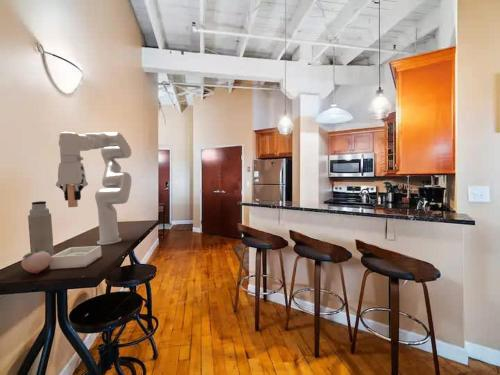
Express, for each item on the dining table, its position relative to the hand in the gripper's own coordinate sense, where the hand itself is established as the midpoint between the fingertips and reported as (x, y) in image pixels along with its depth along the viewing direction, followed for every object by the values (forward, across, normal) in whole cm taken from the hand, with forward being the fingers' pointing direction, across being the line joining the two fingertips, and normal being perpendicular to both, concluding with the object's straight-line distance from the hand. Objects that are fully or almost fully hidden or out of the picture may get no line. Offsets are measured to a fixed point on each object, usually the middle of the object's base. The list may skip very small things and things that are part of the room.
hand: (72, 199), depth 120 cm
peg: (+3, 0, 0) cm, 3 cm away
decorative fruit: (+29, +6, +15) cm, 33 cm away
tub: (+28, -2, +3) cm, 28 cm away
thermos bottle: (+28, +12, +4) cm, 31 cm away
